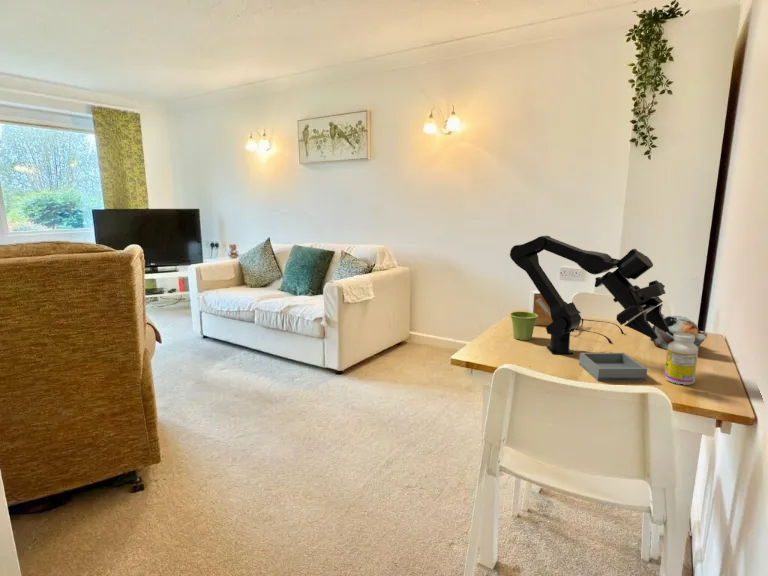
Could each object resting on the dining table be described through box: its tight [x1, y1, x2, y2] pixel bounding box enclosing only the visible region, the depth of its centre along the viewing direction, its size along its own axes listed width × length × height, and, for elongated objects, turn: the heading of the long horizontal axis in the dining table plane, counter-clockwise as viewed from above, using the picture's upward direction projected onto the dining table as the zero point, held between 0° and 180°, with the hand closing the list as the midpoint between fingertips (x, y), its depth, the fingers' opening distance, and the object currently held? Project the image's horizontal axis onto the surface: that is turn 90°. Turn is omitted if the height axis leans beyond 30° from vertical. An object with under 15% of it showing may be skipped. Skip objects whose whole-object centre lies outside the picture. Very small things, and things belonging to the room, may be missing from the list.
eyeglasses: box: [574, 318, 625, 344], centre depth 157 cm, size 16×16×4 cm
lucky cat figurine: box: [650, 313, 708, 351], centre depth 140 cm, size 15×12×14 cm
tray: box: [578, 352, 648, 382], centre depth 122 cm, size 13×13×4 cm
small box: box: [528, 289, 553, 326], centre depth 171 cm, size 8×6×13 cm
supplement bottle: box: [664, 332, 699, 386], centre depth 114 cm, size 7×7×13 cm
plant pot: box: [509, 310, 538, 341], centre depth 154 cm, size 9×9×9 cm
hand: (662, 334), depth 117 cm, fingers open, 9 cm apart
